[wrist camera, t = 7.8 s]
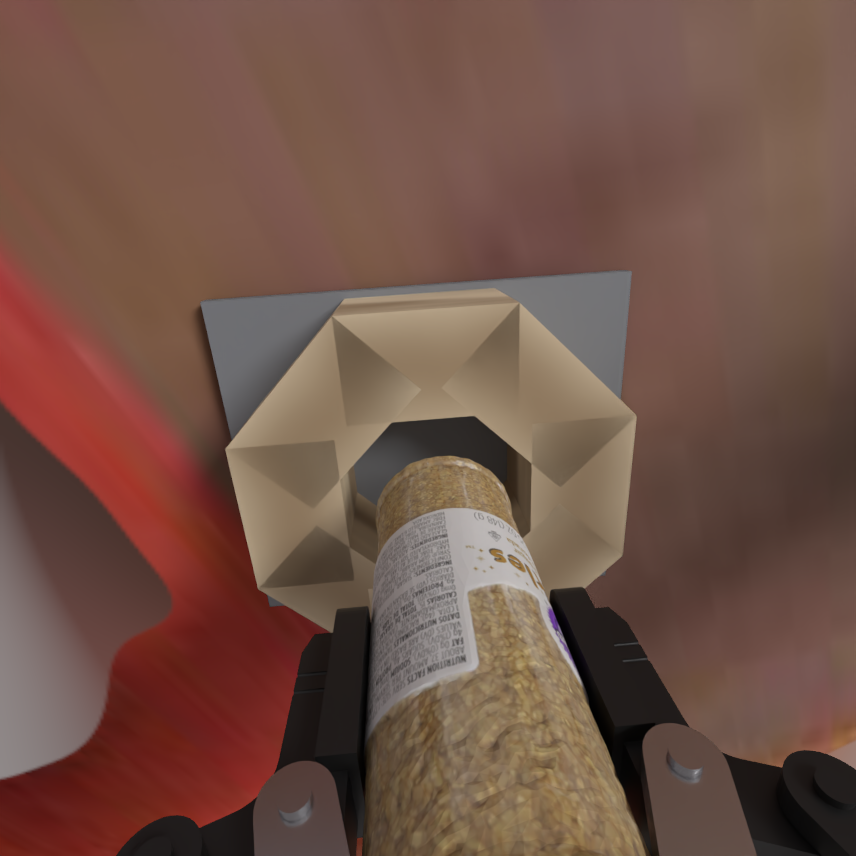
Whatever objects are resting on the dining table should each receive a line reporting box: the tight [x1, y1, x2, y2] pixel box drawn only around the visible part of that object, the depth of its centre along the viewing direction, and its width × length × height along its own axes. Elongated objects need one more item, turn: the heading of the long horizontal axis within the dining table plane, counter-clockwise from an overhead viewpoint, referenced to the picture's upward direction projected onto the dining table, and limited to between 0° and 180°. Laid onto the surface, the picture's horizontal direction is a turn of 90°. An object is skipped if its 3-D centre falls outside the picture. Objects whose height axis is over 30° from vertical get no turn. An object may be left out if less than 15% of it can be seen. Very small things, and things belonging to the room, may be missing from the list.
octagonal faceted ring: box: [225, 288, 637, 633], centre depth 19 cm, size 14×14×4 cm
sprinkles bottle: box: [362, 456, 651, 856], centre depth 11 cm, size 5×5×13 cm
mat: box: [200, 270, 632, 607], centre depth 21 cm, size 16×14×1 cm
